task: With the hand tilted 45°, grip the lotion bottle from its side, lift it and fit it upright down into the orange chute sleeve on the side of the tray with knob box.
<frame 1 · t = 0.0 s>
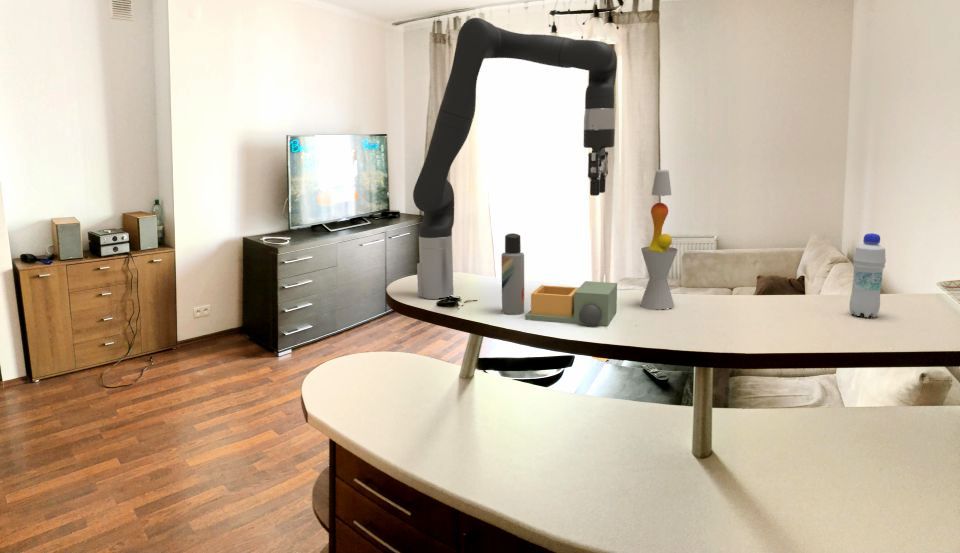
hand: (597, 194, 165), 29 cm above the worktop, tool pointing down, fingers open, 8 cm apart
lotion bottle: (513, 312, 167), on the worktop
tray with knob box: (571, 315, 162), on the worktop
lava lamp: (657, 306, 171), on the worktop
bottle: (863, 316, 158), on the worktop
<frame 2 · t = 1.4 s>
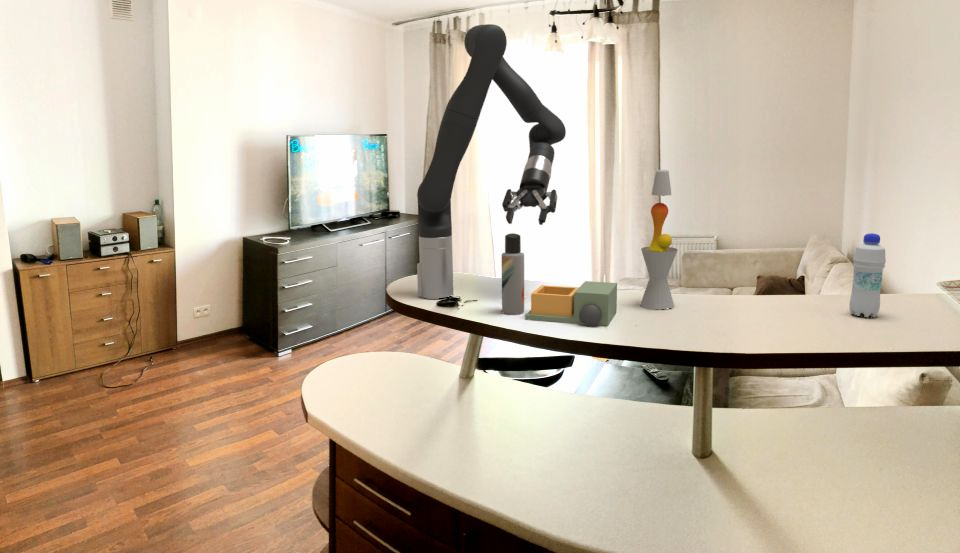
hand: (524, 222, 172), 22 cm above the worktop, tool tilted 45°, fingers open, 8 cm apart
nothing on the worktop moved.
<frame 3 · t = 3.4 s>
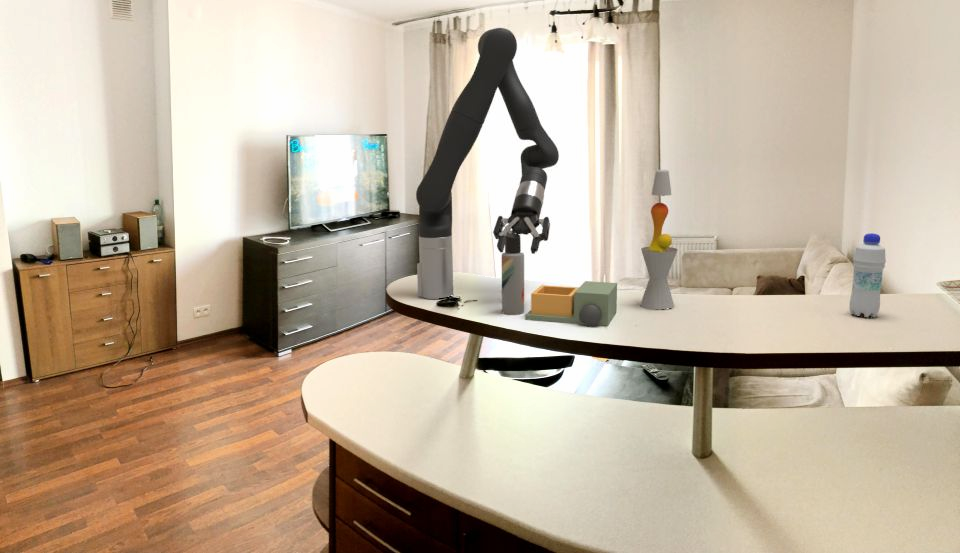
hand: (516, 251, 166), 15 cm above the worktop, tool tilted 45°, fingers open, 8 cm apart
nothing on the worktop moved.
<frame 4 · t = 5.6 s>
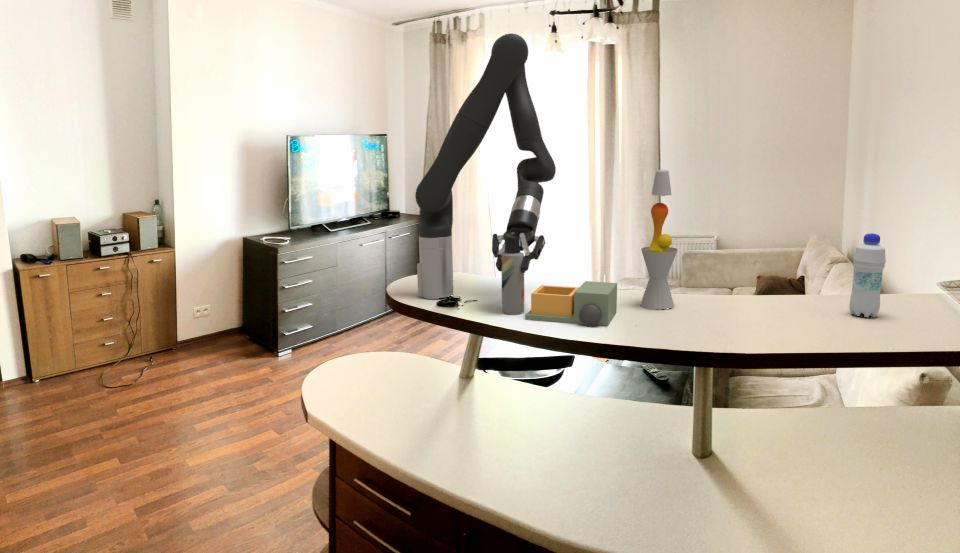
hand: (511, 270, 163), 11 cm above the worktop, tool tilted 45°, fingers closed on lotion bottle, 5 cm apart
lotion bottle: (513, 312, 167), on the worktop, touching gripper
everything else where it was.
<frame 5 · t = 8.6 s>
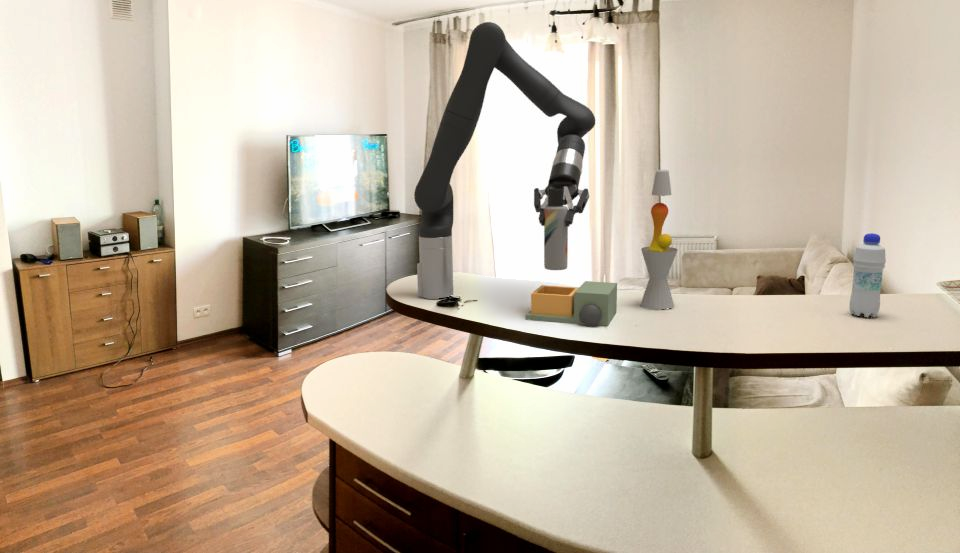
hand: (554, 224, 157), 23 cm above the worktop, tool tilted 45°, fingers closed on lotion bottle, 5 cm apart
lotion bottle: (555, 269, 161), point 12 cm above the worktop, touching gripper
everything else where it was.
when the fingers open (14 cm above the worktop, at t = 11.6 s): lotion bottle drops 1 cm, resting on tray with knob box.
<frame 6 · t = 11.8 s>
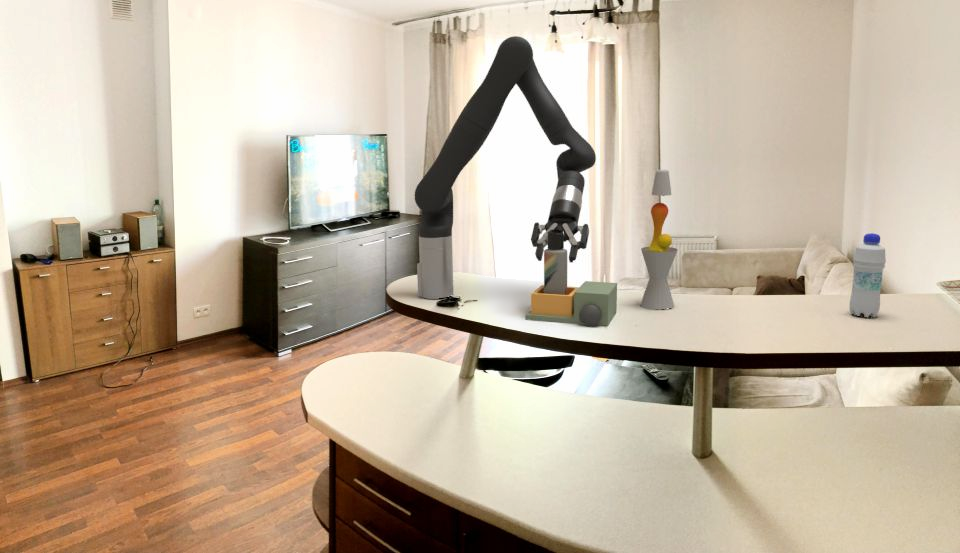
hand: (554, 259, 159), 14 cm above the worktop, tool tilted 45°, fingers open, 7 cm apart
lotion bottle: (555, 310, 164), point 1 cm above the worktop, touching tray with knob box
everything else where it was.
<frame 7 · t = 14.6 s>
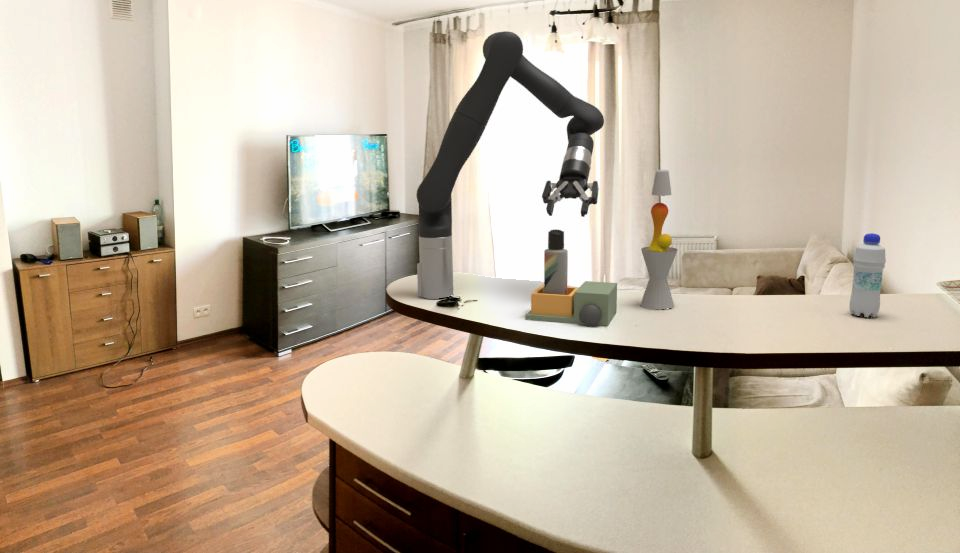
hand: (566, 214, 168), 24 cm above the worktop, tool tilted 45°, fingers open, 8 cm apart
nothing on the worktop moved.
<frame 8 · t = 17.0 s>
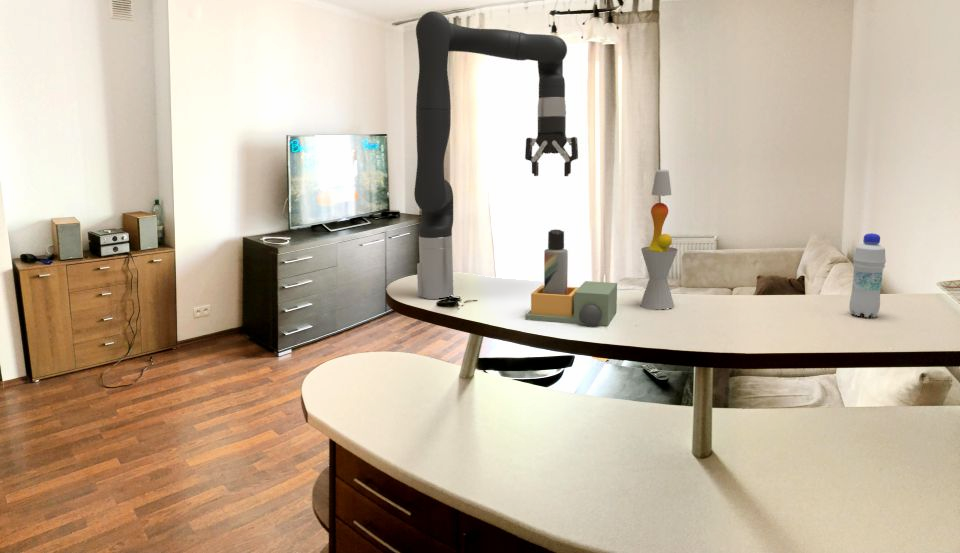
hand: (551, 176, 180), 33 cm above the worktop, tool pointing down, fingers open, 8 cm apart
nothing on the worktop moved.
at the end: lotion bottle 0.4 cm from the target spot on the tray with knob box, point 1.0 cm above the tray with knob box's base; lotion bottle tilted 0°; the gripper is holding nothing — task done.
